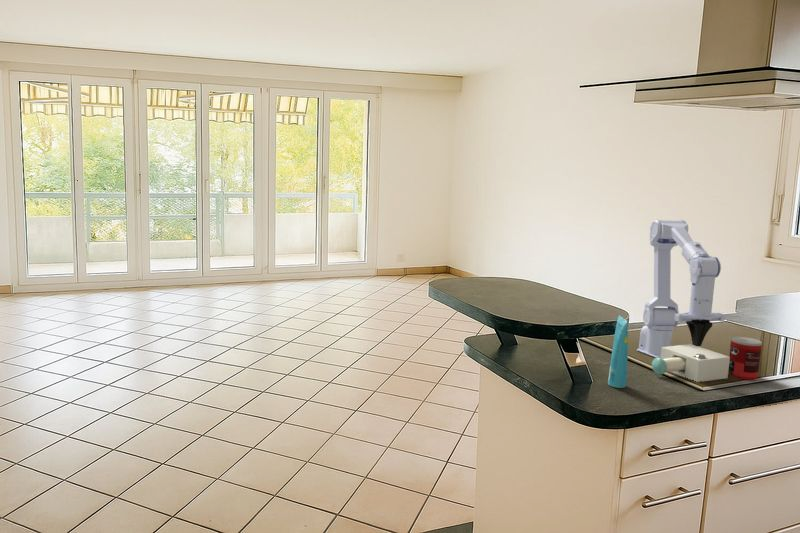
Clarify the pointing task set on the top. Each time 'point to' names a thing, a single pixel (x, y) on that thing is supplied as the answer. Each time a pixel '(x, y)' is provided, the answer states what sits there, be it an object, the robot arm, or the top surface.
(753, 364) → the canned food
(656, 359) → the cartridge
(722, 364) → the housing
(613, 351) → the tube
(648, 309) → the robot arm
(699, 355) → the plunger
